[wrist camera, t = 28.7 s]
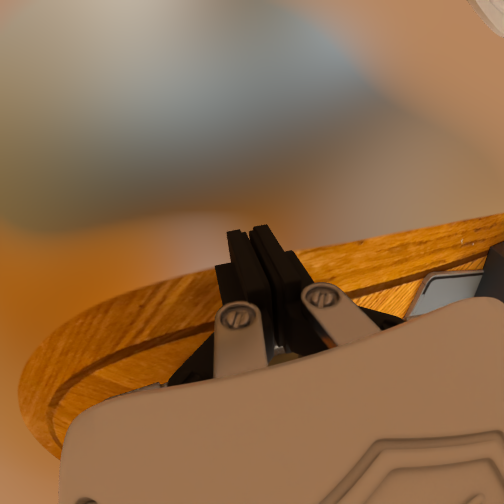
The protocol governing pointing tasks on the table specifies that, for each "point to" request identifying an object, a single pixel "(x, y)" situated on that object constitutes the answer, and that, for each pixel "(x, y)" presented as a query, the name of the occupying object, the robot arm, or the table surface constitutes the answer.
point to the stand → (493, 274)
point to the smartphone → (444, 290)
